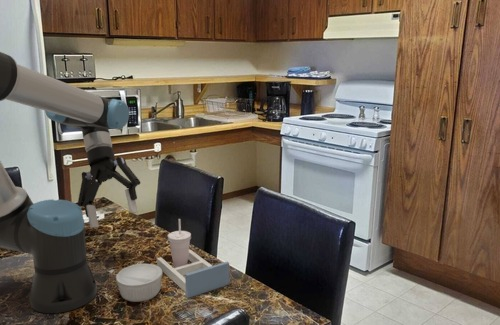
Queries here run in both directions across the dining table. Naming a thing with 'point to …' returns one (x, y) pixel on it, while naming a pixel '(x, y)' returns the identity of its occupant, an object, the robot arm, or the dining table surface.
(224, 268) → the drawer frame
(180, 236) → the smoothie
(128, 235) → the dining table surface
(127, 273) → the ramekin
